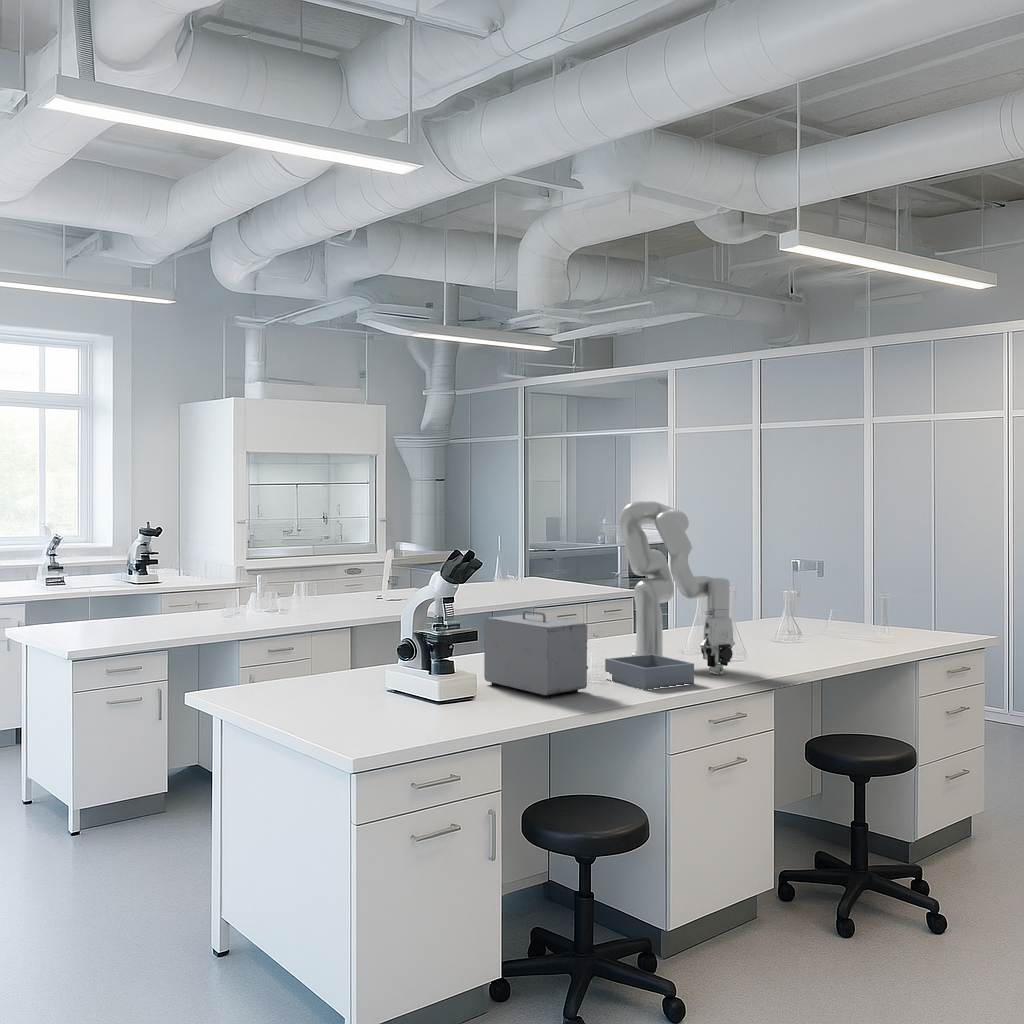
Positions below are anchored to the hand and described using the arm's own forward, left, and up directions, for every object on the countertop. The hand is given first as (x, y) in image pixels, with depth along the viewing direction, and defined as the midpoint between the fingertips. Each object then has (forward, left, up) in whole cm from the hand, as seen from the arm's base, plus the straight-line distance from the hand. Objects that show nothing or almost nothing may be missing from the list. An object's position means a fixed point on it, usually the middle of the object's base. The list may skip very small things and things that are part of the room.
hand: (717, 665), depth 340 cm
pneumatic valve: (0, 0, -3) cm, 3 cm away
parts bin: (0, -30, -3) cm, 30 cm away
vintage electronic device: (-9, -68, -3) cm, 69 cm away
